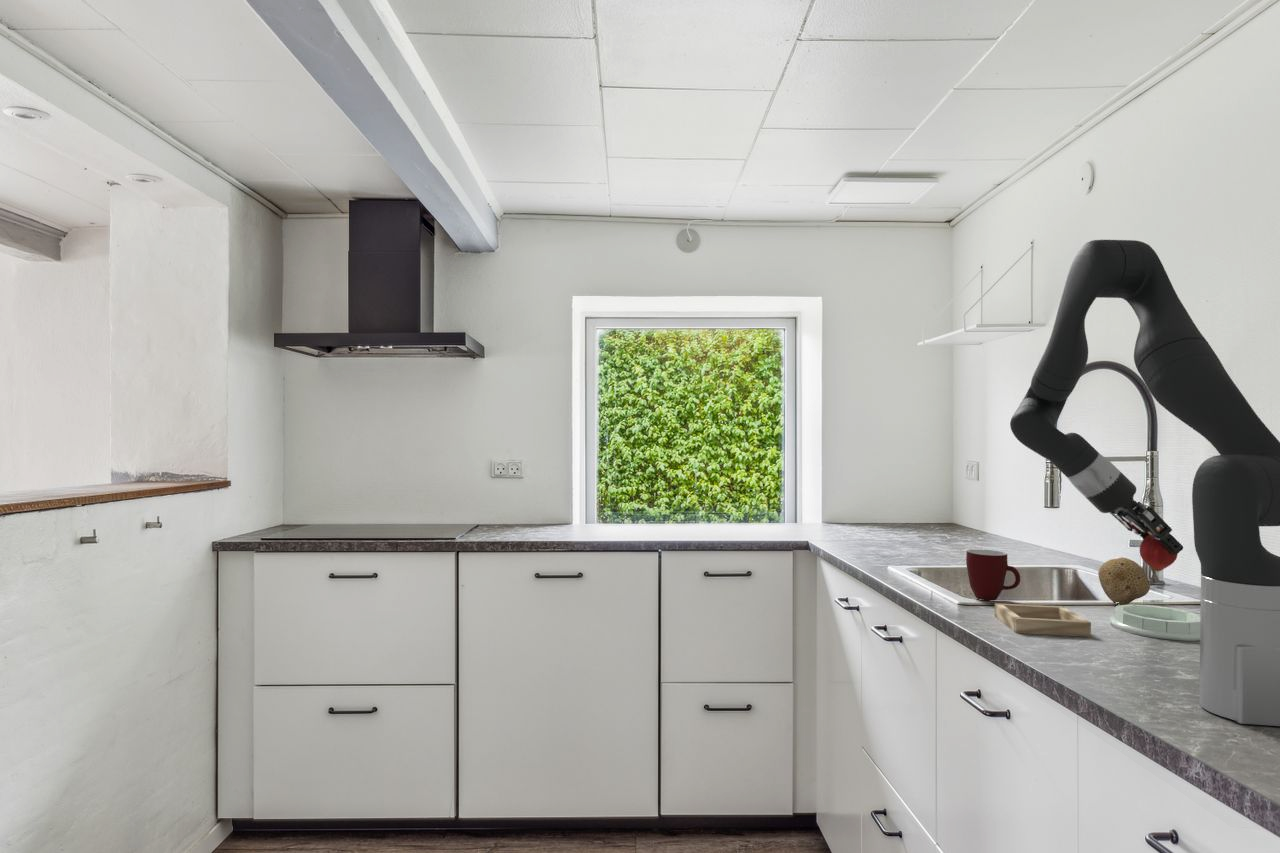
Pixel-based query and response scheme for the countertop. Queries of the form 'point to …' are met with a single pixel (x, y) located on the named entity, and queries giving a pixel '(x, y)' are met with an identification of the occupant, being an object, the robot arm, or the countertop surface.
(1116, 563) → the natural sponge
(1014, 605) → the holder
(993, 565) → the mug
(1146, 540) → the onion
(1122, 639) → the countertop surface
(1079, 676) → the countertop surface
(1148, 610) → the dish
